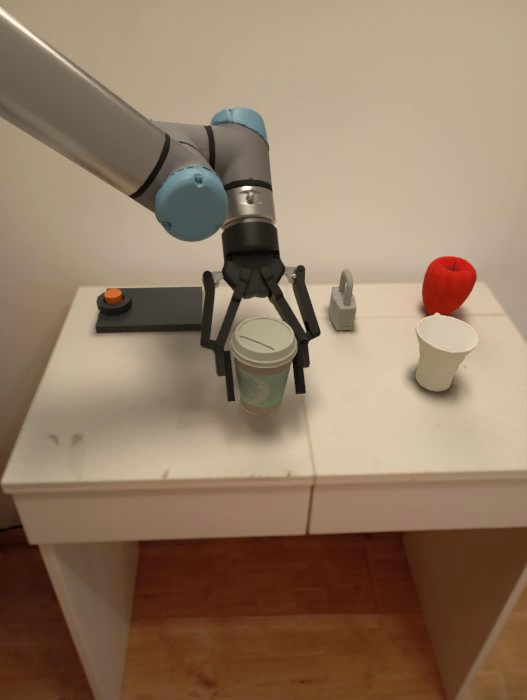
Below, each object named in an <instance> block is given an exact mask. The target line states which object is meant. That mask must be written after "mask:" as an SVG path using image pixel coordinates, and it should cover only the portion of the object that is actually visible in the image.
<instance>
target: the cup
mask: <svg viewBox="0 0 527 700" xmlns="http://www.w3.org/2000/svg"><path fill="white" fill-rule="evenodd" d="M415 333H416V338H417V341H418V347H419V348H418V351H419V357H418V361H417V362H418V363H417V368H416V372H415V380H416V381H417V383H418V384H419V386H420V387H422V388H423V389H425V390H427V391H429V392H439V393H440V392H443V391H446V390H448V389H449V388H450V387H451V386H452V382H453V378H454V376H455V373H456V372H457V371H458V368H459V367H460V365H461V364H462V363H463V361H464V360H465V358H466V357H467V356H469V354H470V353H472V352H473V351H474V350H475V349H476V348H477V347H478V345H479V339H480V338H479V335H478V333H477V332H476V330H475V329H474V328H473V327H472V326H471V325H469V324H468V323H467V322H465V321H463V320H461V319H459V318H456V317H453V316H450V315H449V316H443V315H440V314H439V313H435V314H434V315H432V316H431V315H428V316H426V317H424V318H422V319H420V321H418V323H417V324H416V327H415Z"/></svg>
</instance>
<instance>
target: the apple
mask: <svg viewBox="0 0 527 700" xmlns="http://www.w3.org/2000/svg"><path fill="white" fill-rule="evenodd" d="M477 279H478V276H477V270H476V268H475V267H474V266H473V264H472V263H470V262H469V261H468V260H466V259H465V258H462V257H459V256H453V255H445V256H439V257H436V258H435V259H433V260H432V261H431V262H430V263H429V265H428V266H427V269H426V271H425V273H424V277H423V281H422V287H421V298H422V303H423V307H424V310H425V312H426V313H427V314H428V315H429V316H432V315H434V314H435V313H439V314H440V315H443V316H449V317H450V316H451V315H452V314H453V313H455V312H456V311H458V309H459V308H461V306H463V304H464V303H465V302H466V301H467V299H468V298H469V296H470V295H471V293H472V292H473V290H474V287H475V285H476V282H477Z"/></svg>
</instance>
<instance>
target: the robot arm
mask: <svg viewBox="0 0 527 700" xmlns="http://www.w3.org/2000/svg"><path fill="white" fill-rule="evenodd" d="M0 118H1V119H3V120H5V121H6V122H8V123H9V124H10V125H13V126H15V127H16V128H17V129H19V130H20V131H23V132H24V133H26V134H27V135H29V136H30V137H32V138H34V139H35V140H37V142H38V141H39V142H40V143H41V144H44V145H45V146H47V147H48V148H50V149H52V150H53V151H54V152H56V153H58V154H59V155H61V156H63V157H64V158H66V159H67V160H69V161H70V162H72V163H74V164H76V165H77V166H79V167H80V168H82V169H84V170H85V171H87V172H88V173H90V174H91V175H93V176H95V177H96V178H98V179H100V180H101V181H102V182H105V183H106V184H108V185H109V186H111V187H112V188H114V189H116V190H117V191H119V192H120V193H122V194H123V195H125V196H127V197H129V198H130V199H132V200H133V201H134V202H136V203H138V204H139V205H141V207H144V208H145V209H147V210H148V211H150V212H152V213H154V216H155V219H156V220H157V222H158V223H159V224H160V225H161V227H162V228H163V229H164V230H165V232H166V233H167V234H169V235H170V236H171V237H173V238H175V239H176V240H179V241H183V242H188V243H194V242H196V243H197V242H201V241H204V240H207V239H209V238H211V237H212V236H214V235H215V234H216V233H217V232H219V230H220V229H221V230H222V232H221V237H220V238H221V247H222V258H223V266H222V268H221V269H219V270H215V271H210V270H205V271H203V272H202V277H201V281H202V284H203V286H202V287H203V290H204V299H203V307H202V326H201V330H200V336H199V347H200V348H201V349H205V350H209V351H211V352H213V354H214V364H215V373H216V375H217V377H218V378H219V377H225V387H226V388H225V389H226V399H227V402H228V403H234V402H236V393H235V384H234V382H235V381H234V372H233V362H232V351H231V349H230V350H229V349H228V350H225V346H226V343H227V341H228V337H229V335H230V332H231V329H232V328H233V325H234V321H235V318H236V316H237V312H238V310H239V307H240V305H241V302H242V300H250V299H253V298H257V299H266V298H267V299H268V300H269V302H270V303H271V304H272V305H273V307H274V309H275V310H276V312H277V314H278V316H279V317H280V320H282V321H284V322H285V323H287V324H288V325H289V326H290V327H291V328H292V330H293V332H294V336H295V338H296V340H297V353H296V355H295V356H294V358H293V359H292V363H291V366H292V373H293V374H292V375H293V381H294V383H293V384H294V391H295V395H306V394H307V390H306V389H307V387H306V380H305V371H304V369H307V368H310V365H311V360H310V359H311V358H310V350H309V349H310V348H309V343H310V342H311V341H312V340H314V339H316V338H318V337H320V336H321V335H322V331H321V328H320V325H319V322H318V318H317V315H316V312H315V310H314V305H313V303H312V300H311V297H310V294H309V290H308V288H307V285H306V267H305V266H304V265H303V264H298V265H297V266H288V265H285V263H283V261H282V259H281V253H280V241H279V235H278V234H279V233H278V228H277V227H276V226H275V225H276V224H277V216H276V208H275V201H274V192H273V190H274V189H273V184H272V171H271V160H270V144H269V139H268V134H267V129H266V125H265V120H264V119H263V117H262V115H261V114H260V112H258V111H256V110H254V109H253V108H251V107H247V106H241V105H236V106H235V107H233V108H230V107H225V108H223V109H220V110H219V111H217V112H216V113H214V115H213V116H212V118H211V119H210V120H211V121H210V124H208V125H201V124H191V123H182V122H181V123H180V122H169V121H161V120H160V121H159V120H153V119H152V118H147V116H145V115H144V114H142V112H140V111H139V110H137V109H136V108H134V106H132V105H131V104H130V103H128V102H127V101H125V100H124V99H123V98H121V96H119V95H118V94H116V93H115V92H114V91H112V90H111V89H110V88H109V87H107V86H106V85H105V84H103V83H102V82H100V81H99V80H98V79H97V78H95V77H94V76H93V75H91V74H90V73H89V72H88V71H86V70H85V69H83V68H82V67H81V66H80V65H78V64H77V63H75V61H73V60H72V59H70V58H69V57H68V56H67V55H65V54H64V53H62V52H61V51H60V50H58V49H57V48H56V47H55V46H54V45H52V44H51V43H50V42H48V41H47V40H46V39H44V38H43V37H42V36H40V35H39V34H37V33H36V32H35V31H34V30H32V29H31V28H30V27H28V25H26V24H25V23H23V22H22V21H21V20H19V19H18V18H17V17H15V16H14V15H13V14H12V13H10V12H9V11H7V10H6V9H5V8H4V7H3V6H1V5H0ZM284 276H285V277H286V278H287V281H288V283H290V284H291V286H292V287H291V288H292V292H293V295H294V297H295V302H296V304H297V306H298V310H299V314H300V317H301V320H302V324H303V325H304V328H303V326H302V324H301V322H300V321H299V319H298V317H297V316H296V314H295V312H294V311H293V310H292V308H291V306H290V304H289V302H288V301H287V299H286V297H285V296H284V293H283V290H282V289H281V287H280V286H279V283H280V282H281V280H282V278H283V277H284ZM221 280H224V282H225V283H226V284H227V285H228V286H229V287H230V289H231V290H232V291H233V292H232V295H231V298H230V301H229V303H228V306H227V309H226V312H225V314H224V317H223V319H222V323H221V326H220V328H219V331H218V334H217V337H216V339H212V338H211V335H212V334H211V333H212V324H213V315H214V307H215V298H216V289H218V288H219V286H220V283H221ZM304 329H305V330H304Z"/></svg>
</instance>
